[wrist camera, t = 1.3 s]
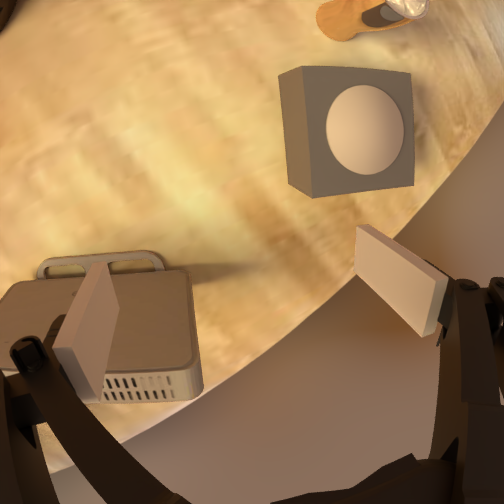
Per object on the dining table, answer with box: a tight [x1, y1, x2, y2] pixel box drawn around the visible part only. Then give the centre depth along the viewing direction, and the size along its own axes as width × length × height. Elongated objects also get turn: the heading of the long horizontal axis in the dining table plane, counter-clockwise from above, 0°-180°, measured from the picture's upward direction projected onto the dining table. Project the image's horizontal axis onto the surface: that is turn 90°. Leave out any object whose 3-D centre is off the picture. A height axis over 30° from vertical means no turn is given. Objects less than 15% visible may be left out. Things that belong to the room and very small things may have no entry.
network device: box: [0, 251, 204, 404], centre depth 31 cm, size 26×9×20 cm, turn 90°
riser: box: [278, 66, 415, 198], centre depth 35 cm, size 14×14×8 cm
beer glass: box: [316, 0, 429, 41], centre depth 26 cm, size 7×7×15 cm
